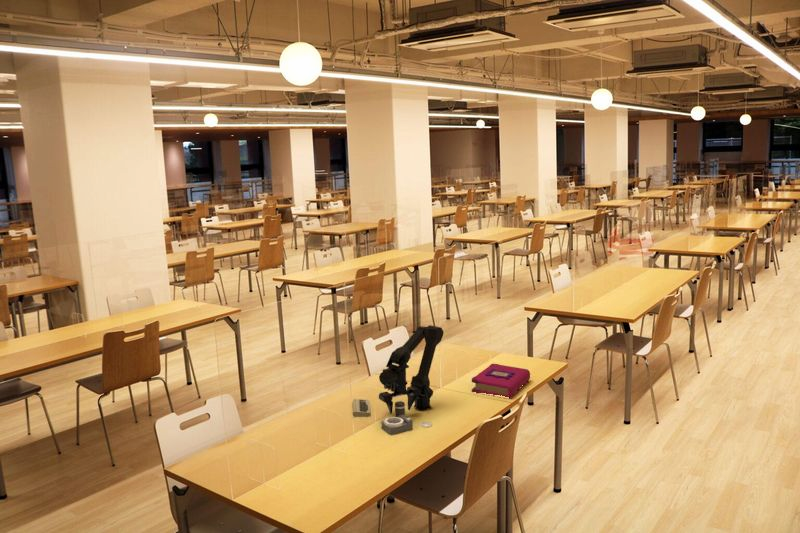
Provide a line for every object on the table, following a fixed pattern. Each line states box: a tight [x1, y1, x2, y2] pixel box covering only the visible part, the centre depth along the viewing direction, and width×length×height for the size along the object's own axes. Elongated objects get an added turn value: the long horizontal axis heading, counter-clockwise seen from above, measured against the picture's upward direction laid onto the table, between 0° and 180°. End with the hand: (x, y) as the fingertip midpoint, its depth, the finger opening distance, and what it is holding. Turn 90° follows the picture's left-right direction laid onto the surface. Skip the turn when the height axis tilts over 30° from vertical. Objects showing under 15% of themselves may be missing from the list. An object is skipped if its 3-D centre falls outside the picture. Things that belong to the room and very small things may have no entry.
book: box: [471, 363, 531, 398], centre depth 346 cm, size 21×28×8 cm
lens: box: [394, 400, 406, 417], centre depth 308 cm, size 5×5×7 cm
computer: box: [352, 398, 371, 418], centre depth 318 cm, size 16×8×3 cm, turn 5°
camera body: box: [381, 414, 414, 436], centre depth 297 cm, size 11×8×5 cm
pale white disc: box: [420, 421, 433, 429], centre depth 301 cm, size 5×5×1 cm
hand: (400, 411), depth 309 cm, fingers open, 9 cm apart
